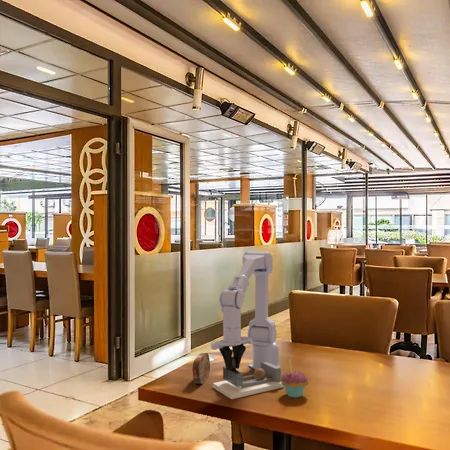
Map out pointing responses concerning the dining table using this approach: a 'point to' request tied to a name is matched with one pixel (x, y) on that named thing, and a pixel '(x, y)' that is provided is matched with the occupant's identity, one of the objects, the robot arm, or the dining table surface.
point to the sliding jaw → (233, 374)
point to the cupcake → (294, 382)
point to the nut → (259, 374)
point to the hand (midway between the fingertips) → (232, 368)
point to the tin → (201, 368)
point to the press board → (252, 383)
